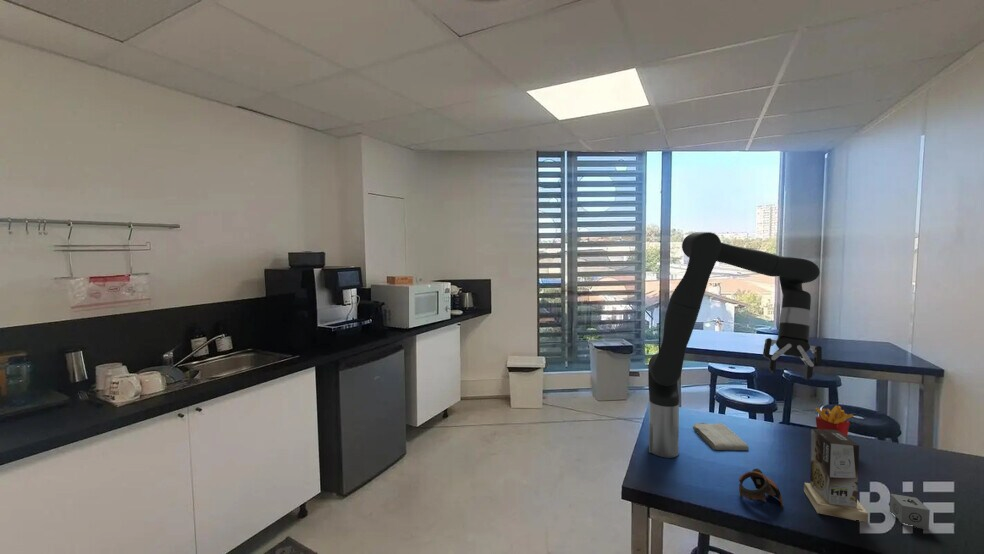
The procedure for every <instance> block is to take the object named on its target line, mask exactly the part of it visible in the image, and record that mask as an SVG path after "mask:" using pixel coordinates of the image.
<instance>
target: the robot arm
mask: <svg viewBox="0 0 984 554" xmlns="http://www.w3.org/2000/svg"><path fill="white" fill-rule="evenodd" d="M681 248H682V252H683V254H684V255H685V256H686V257H687V258H688V262H687V267H686V269H685V272H684V275H683V276H682V277H681V279H680V281H679V283H678V284H677V286H676V287H675V289H674V290H673V292H672V294H671V296H670V298H669V301H668V304H667V308H666V311H665V316H664V317H665V318H664V325H663V334H662V335H663V336H662V341H661V346H660V348H659V351H658V352H657V353H655V354H654V355H652V356H651V357H650V359H649V361H648V367H647V368H648V370H647V373H648V374H647V375H648V378H647V379H648V381H647V382H648V385H647V386H648V394H649V395H648V396H649V397H648V398H649V399H648V401H649V402H648V403H649V405H648V406H649V407H648V408H649V409H648V412H649V413H648V414H649V415H648V453H649V454H653V455H655V456H658V457H662V458H668V459H669V458H676V457H678V455H679V452H680V451H679V450H680V449H679V447H680V446H679V445H680V444H679V441H680V440H679V439H680V438H679V437H680V436H679V434H680V430H679V427H680V424H679V423H680V395H679V388H678V381H679V380H680V377H682V375H681V374H682V370H683V366H684V365H683V364H684V359H685V355H686V349H687V347H688V344H689V342H690V339H691V336H692V334H693V331H694V328H695V325H696V323H697V321H698V320H697V319H698V316H699V313H700V310H701V308H702V302H703V299H704V297H705V293H706V289H707V286H708V284H709V281H710V280H709V279H710V277H711V274H712V272H713V270H714V267H715V265H716V263H717V262H718V263H721V264H722V263H723V264H726V265H731V266H734V267H736V268H740V269H743V270H746V271H749V272H753V273H757V274H760V275H764V276H767V277H779V284H780V288H781V293H782V303H781V311H780V314H779V319H778V322H779V323H778V324H779V325H778V332H777V333H778V335H777V339H772V338H770V337H769V338H765V340H764V346H763V351H762V356H763V357H764V358H766V359H768V370H769V371H770V373H772V374H776V370H777V369H776V367H777V359H778V358H779V357H780V356H782V355H784V356H788V357H789V356H791V357H793V358H794V357H795V358H800V359H801V361H802V362H803V363H804V364H805V367H804V377H803V378H804V380H810V379H812V377H813V373H814V371H813V370H814V368H815V367H821V366H822V363H823V362H822V359H823V357H822V355H823V353H822V352H823V351H822V349H823V347H822V346H821V345H811V344H810V343H809V341H810V340H809V339H810V326H811V306H812V305H811V303H812V297H811V293H810V292H808V291H806V290H804V289H803V284H807V283H810V282H811V283H812V282H813V281H815V280H817V279H818V277H819V276H820V273H821V272H820V267H819V266H818V265H817V264H816V263H815V262H813V261H811V260H810V259H805V258H801V257H793V256H783V255H778V254H774V253H771V252H766V251H762V250H759V249H753V248H748V247H742V246H737V245H736V246H735V245H732V244H728V243H724V242H721V238H720V237H719V236H718V234H716V233H714V232H712V231H697V232H696V231H695V232H692V233H689V234H688V235H687V236H685V237H684V238H683V240H682V242H681ZM774 344H775V345H776V347H777V348H778V350H776V351H774V352H773V354H771V347H772V346H774ZM809 350H810V351H811V353H812V354H813V361H812V360H811V358H810V356H809V355H808V354H807V352H808V351H809Z"/></svg>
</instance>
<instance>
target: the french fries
mask: <svg viewBox="0 0 984 554" xmlns="http://www.w3.org/2000/svg"><path fill="white" fill-rule="evenodd" d="M815 411H816V412H818V414H819V415H820V416H816V417H815V425H816V429H827V430H838V431H839V432H841V433H842V434H843V435H845V436H846V437H848V435H849V429H850V424H851V423H850V421H847V419H850V418H852V417H854V414H853V413H850V414H847V413H845V410H844V409H842V407H841V406H840V405H834V407H832V409H831V410H830V409H829V408H822V409H820V408H819V407H815ZM826 412H827V414H826Z"/></svg>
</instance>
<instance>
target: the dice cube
mask: <svg viewBox="0 0 984 554" xmlns="http://www.w3.org/2000/svg"><path fill="white" fill-rule="evenodd" d="M890 512H891V513H893V514H894V515H895V516H896V517H897V518H898V519H899V521H900V522H901V523H905V524H908V525H913V526H916V527H917V528H916V527H915V528H916V529H923V530H929V529H930V515H931V514H930V513H931V512H930V509H929V508H928V507H927V506H926V505H925V504H924V503H922V502H921V501H920V500H919V499H918V498H917V497H913V496H908V495H902V494H901V495H900V494H895V493H890V495H889V513H890ZM891 513H890V514H891Z"/></svg>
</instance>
